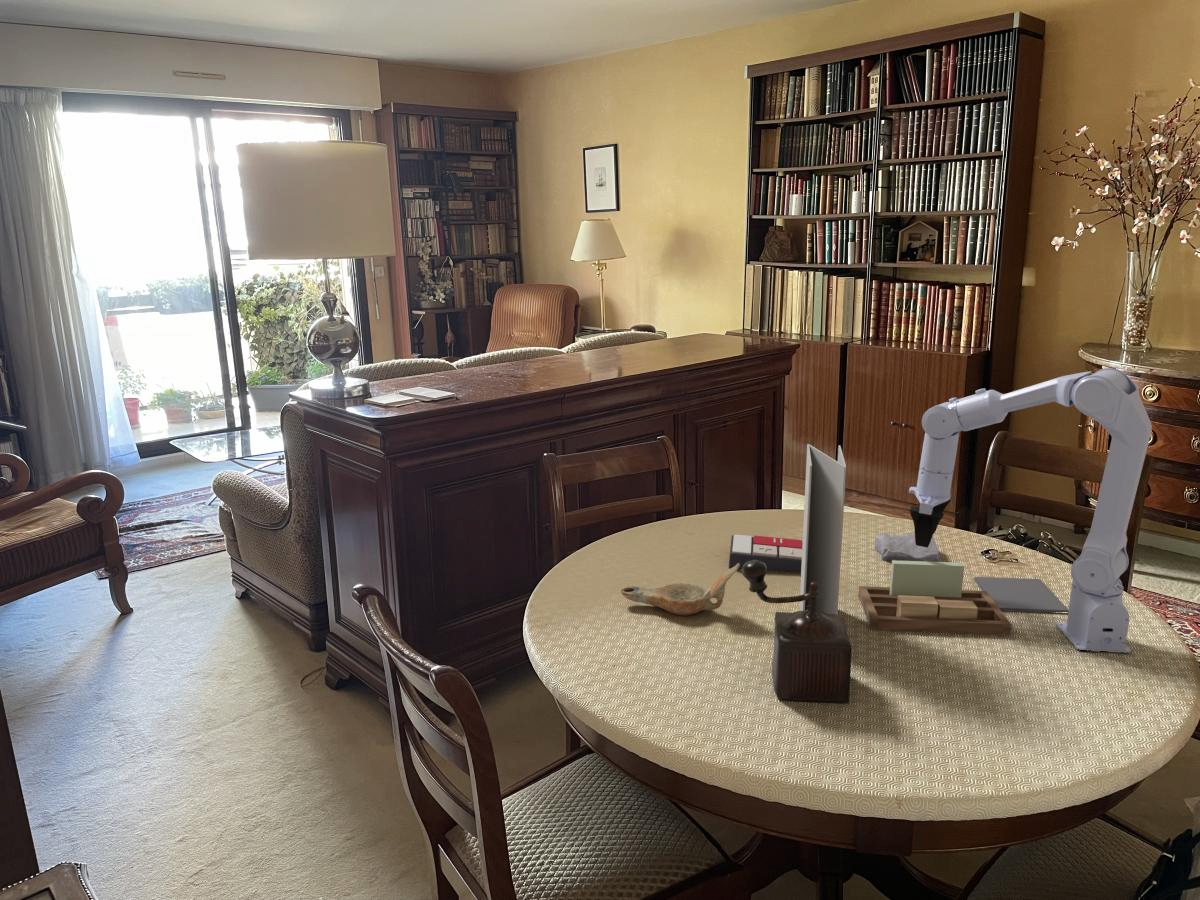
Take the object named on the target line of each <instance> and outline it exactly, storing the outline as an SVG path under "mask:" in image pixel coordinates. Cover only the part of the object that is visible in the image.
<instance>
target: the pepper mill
mask: <svg viewBox="0 0 1200 900" xmlns="http://www.w3.org/2000/svg"><path fill="white" fill-rule="evenodd" d="M766 568H767V567H766V565H765V563H763V562H761V561H758V560H751V561H748V562H747V563H745V564H744V565H743V567H742V570H741V574H742V576H743V577H744V578H745V579H746V580H747V581H748V582H749V587H748V591H750V592H751V593H756V595H757V597H758V598H759V599H760V600H761V601H763V602H765V603H768V604H786V603H787V604H789V603H790V604H791V603H798V602H799V603H800V601H804V600H807V599H809V598H810V605H807V606H806V610H807V611H800V610H798V611H794V612H787V611H786V612H785V611H783V612H782V611H775V614H774V634H773V635H774V641H773V656H772V662H771V677H772V685H773V690H774V693H775V696H776V697H777V700H778V701H785V702H791V703H792V702H794V703H796V702H797V703H810V704H811V703H814V704H849V702H850V687H851V686H850V685H851V684H850V683H851V673H852V672H851V669H852V668H851V666H852V649H853V648H852V643H851V638H850V636H849V633H848V630H847V625H846V623H845V621H844V618H843V616H842V614H825V613H822V612H816V597H818V596H819V594H818V591H817V589H818V584H817V583H816V582H811V584H810V586H809V587H810V591H809V593H807V594H803V595H800V594H799V595H793V596H792V595H791V596H780V597H778V596H777V597H774V596H773V597H772V596H767V594H765V591H766V590H767V589H768V584H767V583H766V581H765V576H766V574H767V571H766Z"/></svg>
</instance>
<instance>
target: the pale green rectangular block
mask: <svg viewBox="0 0 1200 900" xmlns="http://www.w3.org/2000/svg"><path fill="white" fill-rule="evenodd" d="M964 570H965V566H964V563H962V562H950V561H949V562H948V561H939V562H925V561H896V560H892V561H891V571H890V584H889V587H890V594H889V595H907V596H932V597H957V598H961V593H962V590H963V582H964V581H963V580H964Z"/></svg>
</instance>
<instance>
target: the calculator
mask: <svg viewBox="0 0 1200 900" xmlns="http://www.w3.org/2000/svg"><path fill="white" fill-rule="evenodd" d="M730 538H731V539H730V548H729V549H730V550H729V559H728V560H729V562H728V569H729V568H733V567H735V566H736V564H738V563H739V564H740V566H739V568H738V569H742V567H743V565H744V564H745V563H747V562H748V561H751V560H758V561H761V562H763V563H765V565H766V567H767V568H766V572H775V571H778V573H780V572H781V573H792V572H795V573H798V574H801V566H802V545H803V539H797V538H787V537H786V538H784V537H775V536H764V535H753V536H752V535H747V534H746V535H745V534H743V535H742V534H733V535H731V537H730ZM738 569H737V570H738ZM795 573H794V574H795Z"/></svg>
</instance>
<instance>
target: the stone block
mask: <svg viewBox="0 0 1200 900" xmlns="http://www.w3.org/2000/svg"><path fill="white" fill-rule="evenodd" d="M874 549H875V551H876V552H877V553H878V554H880V558H881V560H884V561H889V562H892V560H896V561H925V562H940V551H939V548H938V545H937V543H936V541H935V537H934V536H932V539H931V542H930V544H929V546H928V548H926V547H922V546H917V545H916V542H915V532H911V533H905V534H901V535H893V534H889V533H887V532H884V533H880V534H879V535H877V536H876V538H875V540H874Z"/></svg>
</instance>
